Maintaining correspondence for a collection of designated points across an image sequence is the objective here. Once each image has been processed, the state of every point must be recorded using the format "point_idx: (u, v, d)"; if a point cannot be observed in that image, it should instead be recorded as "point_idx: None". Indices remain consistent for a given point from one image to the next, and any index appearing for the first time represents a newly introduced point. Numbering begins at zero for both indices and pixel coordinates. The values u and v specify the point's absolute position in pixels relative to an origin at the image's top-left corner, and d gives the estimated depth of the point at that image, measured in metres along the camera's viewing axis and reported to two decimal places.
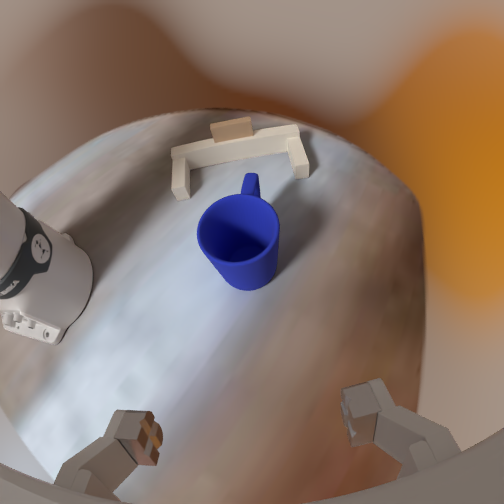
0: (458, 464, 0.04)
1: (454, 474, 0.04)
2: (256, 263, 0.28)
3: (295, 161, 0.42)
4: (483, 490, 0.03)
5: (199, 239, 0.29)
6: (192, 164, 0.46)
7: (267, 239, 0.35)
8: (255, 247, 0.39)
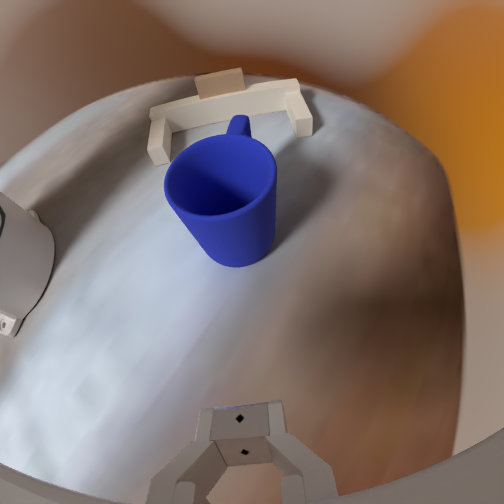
0: (458, 464, 0.04)
1: (454, 474, 0.04)
2: (243, 217, 0.19)
3: (295, 115, 0.33)
4: (484, 490, 0.03)
5: (166, 189, 0.21)
6: (174, 126, 0.38)
7: None
8: None
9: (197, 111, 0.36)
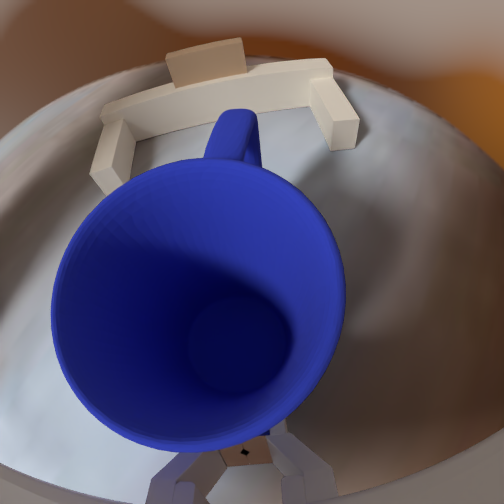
0: (458, 464, 0.04)
1: (454, 474, 0.04)
2: None
3: (332, 113, 0.19)
4: (483, 490, 0.03)
5: (53, 320, 0.07)
6: (138, 131, 0.24)
7: (283, 294, 0.12)
8: (251, 300, 0.16)
9: (171, 107, 0.22)
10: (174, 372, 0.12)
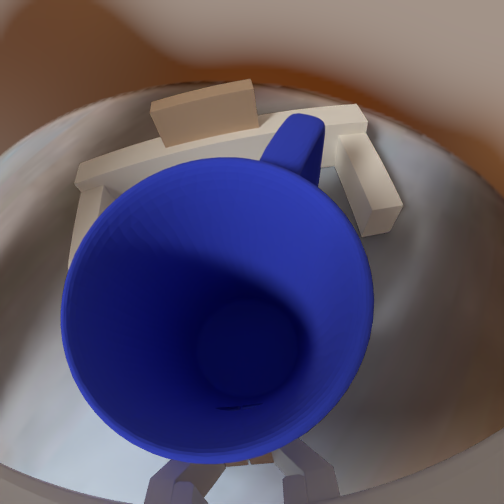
0: (458, 464, 0.04)
1: (454, 474, 0.04)
2: None
3: (369, 197, 0.16)
4: (484, 490, 0.03)
5: (66, 288, 0.07)
6: None
7: (306, 316, 0.12)
8: (273, 308, 0.16)
9: None
10: (177, 361, 0.12)
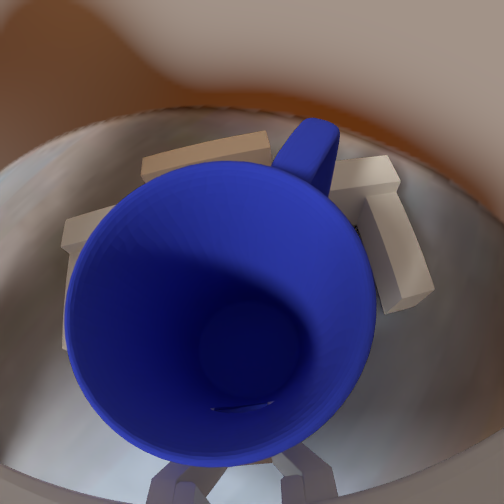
0: (458, 464, 0.04)
1: (454, 474, 0.04)
2: None
3: (400, 281, 0.13)
4: (483, 490, 0.03)
5: (71, 285, 0.07)
6: None
7: (309, 322, 0.12)
8: (278, 311, 0.16)
9: None
10: (178, 359, 0.12)
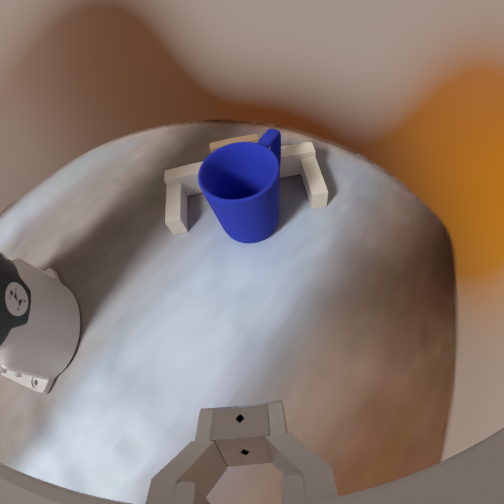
0: (458, 464, 0.04)
1: (454, 474, 0.04)
2: (242, 205, 0.28)
3: (311, 188, 0.35)
4: (484, 489, 0.03)
5: (200, 171, 0.30)
6: (189, 190, 0.40)
7: None
8: None
9: None
10: None
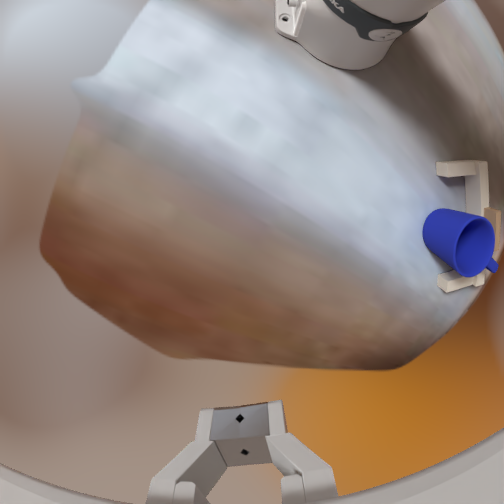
0: (458, 464, 0.04)
1: (454, 474, 0.04)
2: (451, 251, 0.31)
3: (451, 281, 0.39)
4: (483, 489, 0.03)
5: (480, 218, 0.29)
6: (468, 178, 0.36)
7: None
8: None
9: (475, 202, 0.36)
10: None
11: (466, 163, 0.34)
